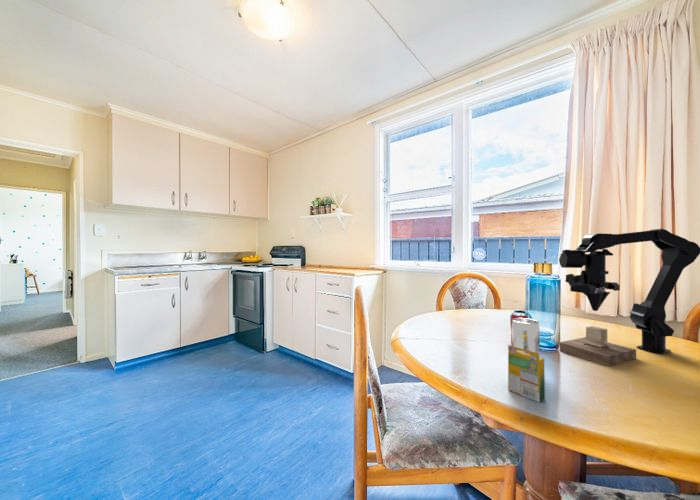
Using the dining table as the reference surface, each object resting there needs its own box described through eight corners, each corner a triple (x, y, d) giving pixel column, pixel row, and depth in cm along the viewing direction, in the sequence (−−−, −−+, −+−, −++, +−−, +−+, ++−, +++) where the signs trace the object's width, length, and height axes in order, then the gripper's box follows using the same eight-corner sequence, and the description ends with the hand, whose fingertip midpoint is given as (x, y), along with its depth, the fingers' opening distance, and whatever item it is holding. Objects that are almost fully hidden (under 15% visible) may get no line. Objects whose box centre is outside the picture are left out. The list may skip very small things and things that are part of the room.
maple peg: (593, 351, 97) (593, 325, 97) (607, 355, 93) (607, 328, 93) (585, 353, 95) (585, 327, 95) (600, 357, 92) (600, 330, 92)
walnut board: (586, 344, 104) (586, 336, 104) (636, 358, 91) (636, 349, 91) (559, 350, 98) (559, 342, 98) (608, 366, 85) (608, 356, 85)
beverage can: (530, 350, 99) (530, 316, 99) (514, 349, 100) (514, 315, 100) (524, 345, 104) (524, 312, 104) (509, 344, 105) (508, 312, 105)
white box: (530, 379, 77) (530, 325, 77) (506, 369, 84) (506, 319, 83) (545, 373, 81) (544, 321, 80) (520, 364, 87) (520, 316, 87)
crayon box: (545, 399, 67) (545, 351, 67) (539, 403, 65) (539, 353, 65) (513, 386, 73) (513, 342, 73) (507, 390, 72) (507, 344, 71)
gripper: (585, 266, 113) (585, 304, 113) (554, 267, 106) (555, 308, 106) (620, 267, 103) (620, 310, 103) (588, 269, 96) (589, 315, 96)
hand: (595, 310), depth 102 cm, fingers closed
